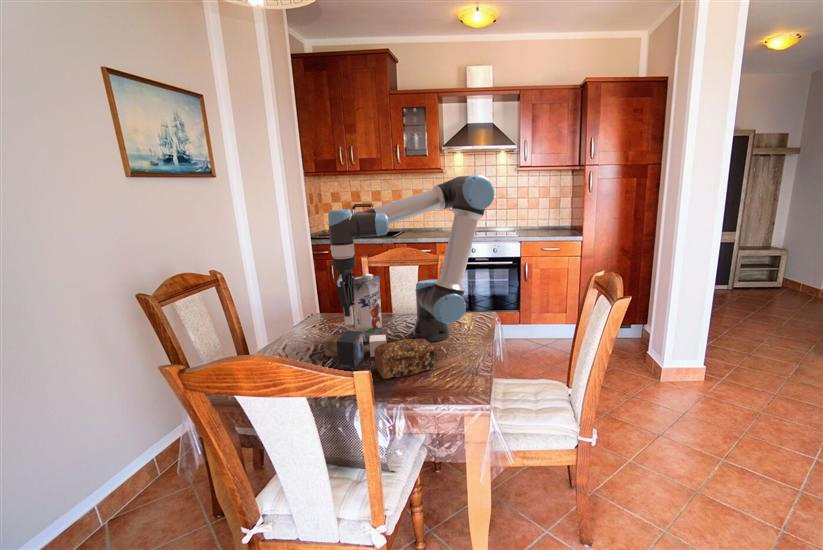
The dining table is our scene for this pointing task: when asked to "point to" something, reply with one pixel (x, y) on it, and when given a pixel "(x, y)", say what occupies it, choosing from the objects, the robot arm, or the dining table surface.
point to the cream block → (376, 342)
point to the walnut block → (331, 345)
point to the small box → (350, 350)
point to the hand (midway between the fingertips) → (349, 324)
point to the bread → (404, 357)
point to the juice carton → (367, 306)
